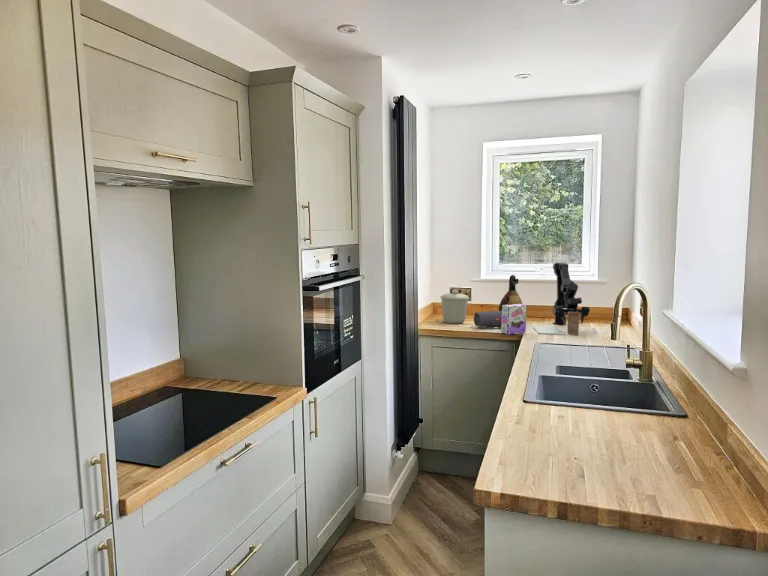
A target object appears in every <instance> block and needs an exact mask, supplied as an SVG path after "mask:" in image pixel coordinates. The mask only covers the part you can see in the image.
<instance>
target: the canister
mask: <svg viewBox="0 0 768 576" xmlns="http://www.w3.org/2000/svg"><path fill="white" fill-rule="evenodd" d="M439 298H441V308H442V309H441V310H442V319H443V321H444V322H445V323H447V324H454V325H455V324H462V323H464V322H465V320H466V316H467V315H466V314H467V308H468V301H469V299H470V297H469V296H468V295H466V294H463V293H459V292H458V290H457V289H452V290H451V292H450V293H444V294H442V295H441V296H440V297H439Z"/></svg>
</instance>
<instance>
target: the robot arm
mask: <svg viewBox="0 0 768 576" xmlns="http://www.w3.org/2000/svg"><path fill="white" fill-rule="evenodd" d="M552 269H553V273H554V275H555V277H556V300H555V301H554V305H553V307H552V309H551V312H552V314H553V315H554V321H553V322H552V324H553V325H559V326H560V325H561V326H562V325H566V324H567V319H566V316H568V311H578V312H579V319H580V323H581V324H583V323H584V320H585V318H586V317H588V316H589V314H590V311H591V310H590V307H589V306H581V309H580V308H578V307H579V306H578V305H580V304H582V302H583V301H582V297H575V296H576V295H577V292H578V290H579V285H578V284H577V283H575V281H573V280H571V277H570V272H569V264H568V263H566V262H554V263H553V265H552ZM565 315H566V316H565Z"/></svg>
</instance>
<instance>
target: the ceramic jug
mask: <svg viewBox="0 0 768 576" xmlns="http://www.w3.org/2000/svg"><path fill="white" fill-rule="evenodd" d="M518 284H519V278H517V276H515V274H511V275H510V276H509V279H508V291H507V292H506V293H505V294H504V295H503V297H502V299H501V300H500V303H499V306H498V311H502V305H513V304H523V301H522V299H521V297H520V295H519V293H518V291H517V289H516V285H518ZM523 305H524V304H523Z"/></svg>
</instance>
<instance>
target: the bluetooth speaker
mask: <svg viewBox="0 0 768 576" xmlns="http://www.w3.org/2000/svg"><path fill="white" fill-rule="evenodd" d="M501 319H502V311H499V310H490V311H478V312H475V313H474V316H473V323H474V326H476V327H483V328H484V327H486V328H485V329H495V328H494V327H500V328H501Z"/></svg>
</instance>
